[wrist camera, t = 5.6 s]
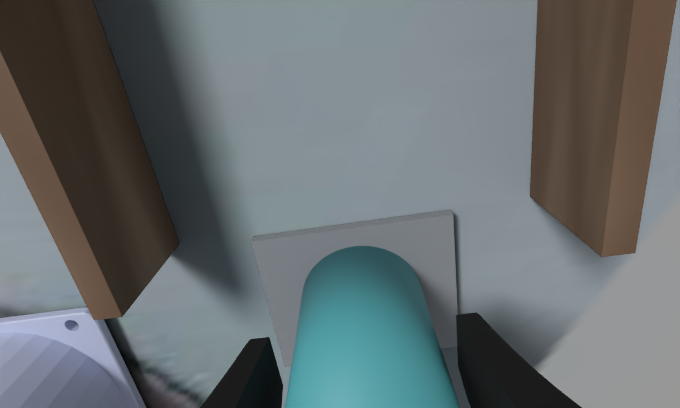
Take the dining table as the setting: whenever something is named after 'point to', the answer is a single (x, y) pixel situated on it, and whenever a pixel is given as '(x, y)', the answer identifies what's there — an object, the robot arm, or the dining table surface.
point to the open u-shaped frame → (146, 198)
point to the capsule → (366, 337)
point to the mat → (391, 234)
